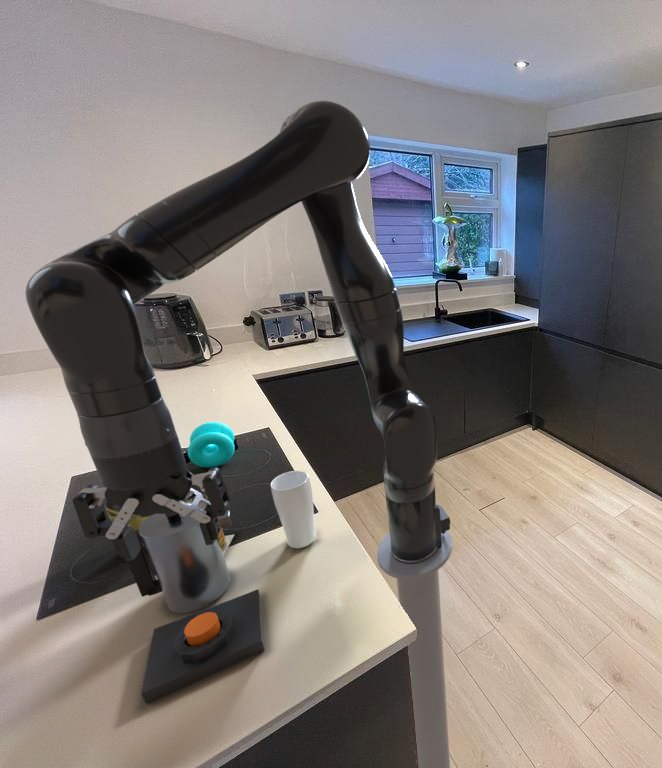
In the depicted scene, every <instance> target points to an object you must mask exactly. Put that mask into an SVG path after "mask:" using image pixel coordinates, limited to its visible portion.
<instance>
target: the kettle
mask: <svg viewBox="0 0 662 768" xmlns="http://www.w3.org/2000/svg"><path fill="white" fill-rule="evenodd" d="M184 503H186V504H188V503H189V502H184ZM217 517H218V520H219V524H220V527H221V529H222V530H223V529H225V528H229V527H231V526H232V524H233V521H232V520H233V519H232V515H231V513H230V510H227V511H226V513H225V515H223V516H217ZM199 524H200V522H199V521H198V520H196V519H194V518H192V517H190V516H186V517H185V516H182V515H181V514H179V513H177V512H175V511H172V513H166V514H154V515H151V516H150V517H148V518H147V519H146V520H145V521H144V522H143V523H142V524H141V526H140V527H139V530H136V531H134V532H135V534H136V537H137V539H138V541H139V544H140V547H141V549H140V552H139V553H138V555H137V556H136V557H135V559H134V560H128V561H126V563H127V565H128V567H129V570H130V572H131V574H132V576H133V579H134V582H135V583H136V585H137V589H138V590H139V592H140V595H141V597H142V598H143V597H146V596H148V597H151V596H154V595H156V594H157V595H158V594H159V593H162V595H163V596H164V600H165V602H166V604H167V606H168V609H169V610H170V611H172V612H174V613H176V614H177V613H178V614H187V613H192V612H195V611H198V610H201V609H203V608H205V607H208V606H209V605H211V604H212V603H214V602H215V601H217V600H218V599H219V598H221V596H222V595H223V594H224V593H225V592H226V591H227V590H228V588H229V586H230V584H231V581H232V579H231V574H230V572H229V568H228V565H227V562H226V559H225V554H223V552H222V549H221V546H220V542H219V539H218V538H217V540H215V542H214V544H212V545H206V544H205V541H204V538H203V534H202V531H201V528H200V525H199ZM142 543H143V544H144V547H145V549H146V552H145V549H144V547H143V544H142Z"/></svg>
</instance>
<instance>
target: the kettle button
mask: <svg viewBox="0 0 662 768" xmlns="http://www.w3.org/2000/svg"><path fill="white" fill-rule="evenodd" d="M220 627H221V626H220V623H219V620H218V617H217V615H216V614H215V613H213V612H207V613H203V614H201V615H199V616H197V617H195V618H194V619H192V620H191V621H190V622H189V623H188V624H187V626H186V627H185V630H184V634H185V636H186V639H187V641H188V644H189V645H191V646H200V645H202V644H205V643H207V642H209V641H210V640H211V639H213V638H214V637H215V636H216V635H217V634H218V633H219V631H220Z"/></svg>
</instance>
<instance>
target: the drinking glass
mask: <svg viewBox="0 0 662 768" xmlns="http://www.w3.org/2000/svg"><path fill="white" fill-rule="evenodd" d="M269 486H270V491H271V496H272V500H273V504H274V507H275V510H276V513H277V515H278V518H279V521H280V523H281V526H282V530H283V532H284V534H285V537H286V540H287V545H288V546H289V547H290V548H291V549H302V548H305V547H308V546H309V545H311V544H312V543H313V542H314V541H315V539H316V538H317V530H316V524H315V512H314V499H313V498H314V497H313V490H312V483H311V480H310V476H309V474H308V473H307V472H306V471H303V470H291V471H286V472H283V473H282V474H279V475H277V476H276V477H274V479H272V481H271V482H270V485H269Z"/></svg>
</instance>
